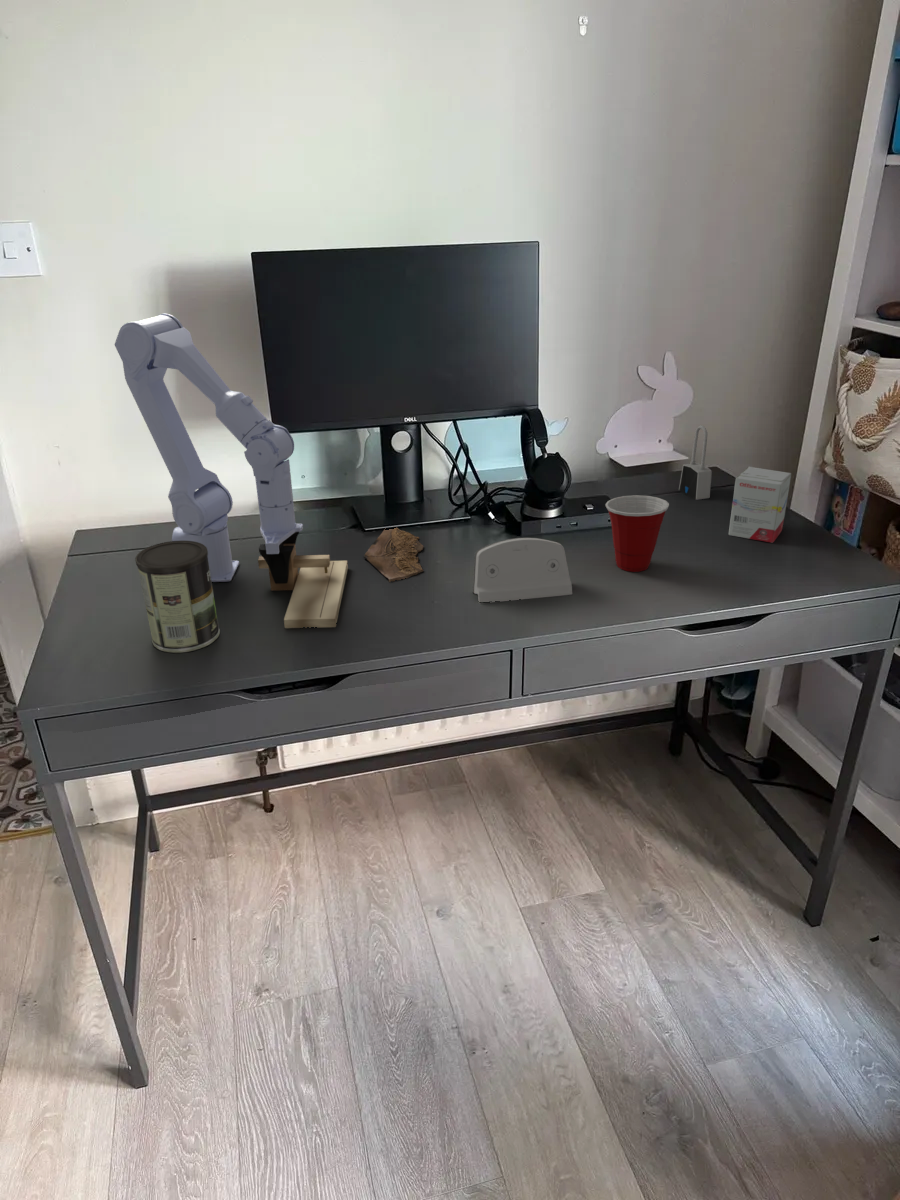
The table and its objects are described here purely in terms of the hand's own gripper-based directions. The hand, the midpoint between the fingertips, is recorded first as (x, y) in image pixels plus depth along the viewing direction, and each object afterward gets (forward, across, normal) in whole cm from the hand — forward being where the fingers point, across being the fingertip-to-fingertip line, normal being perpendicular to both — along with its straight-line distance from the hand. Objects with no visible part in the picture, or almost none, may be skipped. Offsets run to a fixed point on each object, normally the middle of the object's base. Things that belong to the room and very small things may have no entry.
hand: (284, 575), depth 149 cm
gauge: (+2, 0, -2) cm, 3 cm away
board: (+2, -5, -6) cm, 8 cm away
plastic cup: (+2, +5, -61) cm, 62 cm away
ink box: (+2, +19, -88) cm, 90 cm away
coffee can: (+2, -18, +13) cm, 22 cm away
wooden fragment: (+2, +13, -18) cm, 23 cm away
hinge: (+2, -4, -41) cm, 41 cm away
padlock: (+2, +41, -82) cm, 92 cm away
